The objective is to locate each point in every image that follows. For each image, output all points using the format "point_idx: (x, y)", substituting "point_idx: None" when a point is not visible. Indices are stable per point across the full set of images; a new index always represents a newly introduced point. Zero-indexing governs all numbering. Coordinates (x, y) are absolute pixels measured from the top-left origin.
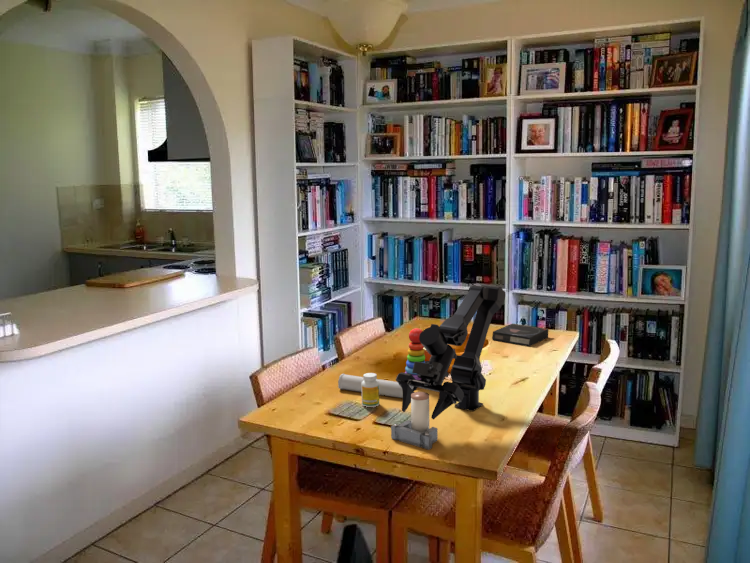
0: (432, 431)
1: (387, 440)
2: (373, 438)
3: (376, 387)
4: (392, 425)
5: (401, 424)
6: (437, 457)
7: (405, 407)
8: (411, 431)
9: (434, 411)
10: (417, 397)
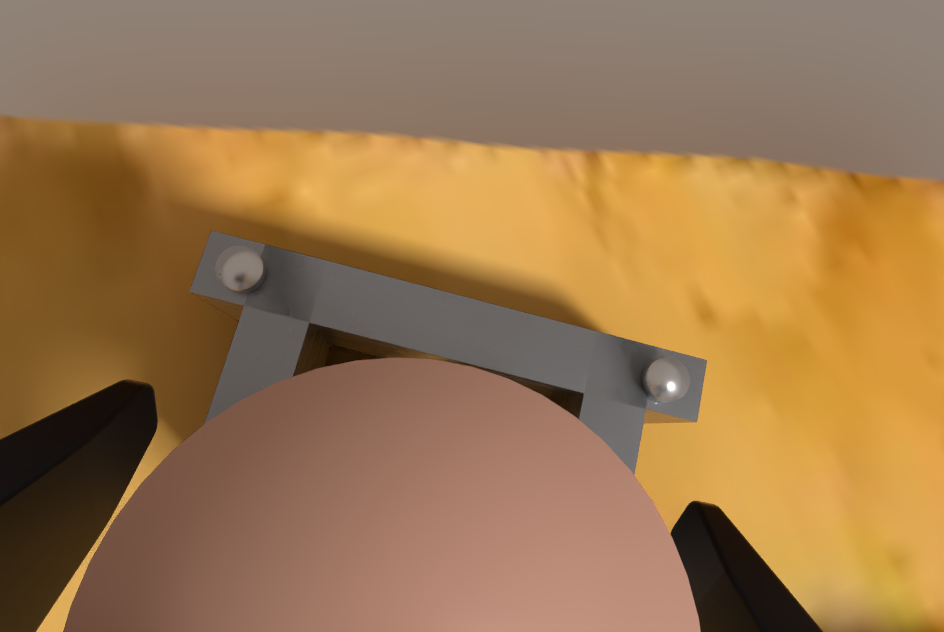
0: (214, 399)
1: (662, 327)
2: (786, 322)
3: None
4: (702, 383)
5: (624, 447)
6: (140, 162)
7: (696, 581)
8: (443, 305)
9: (44, 440)
10: (395, 406)
